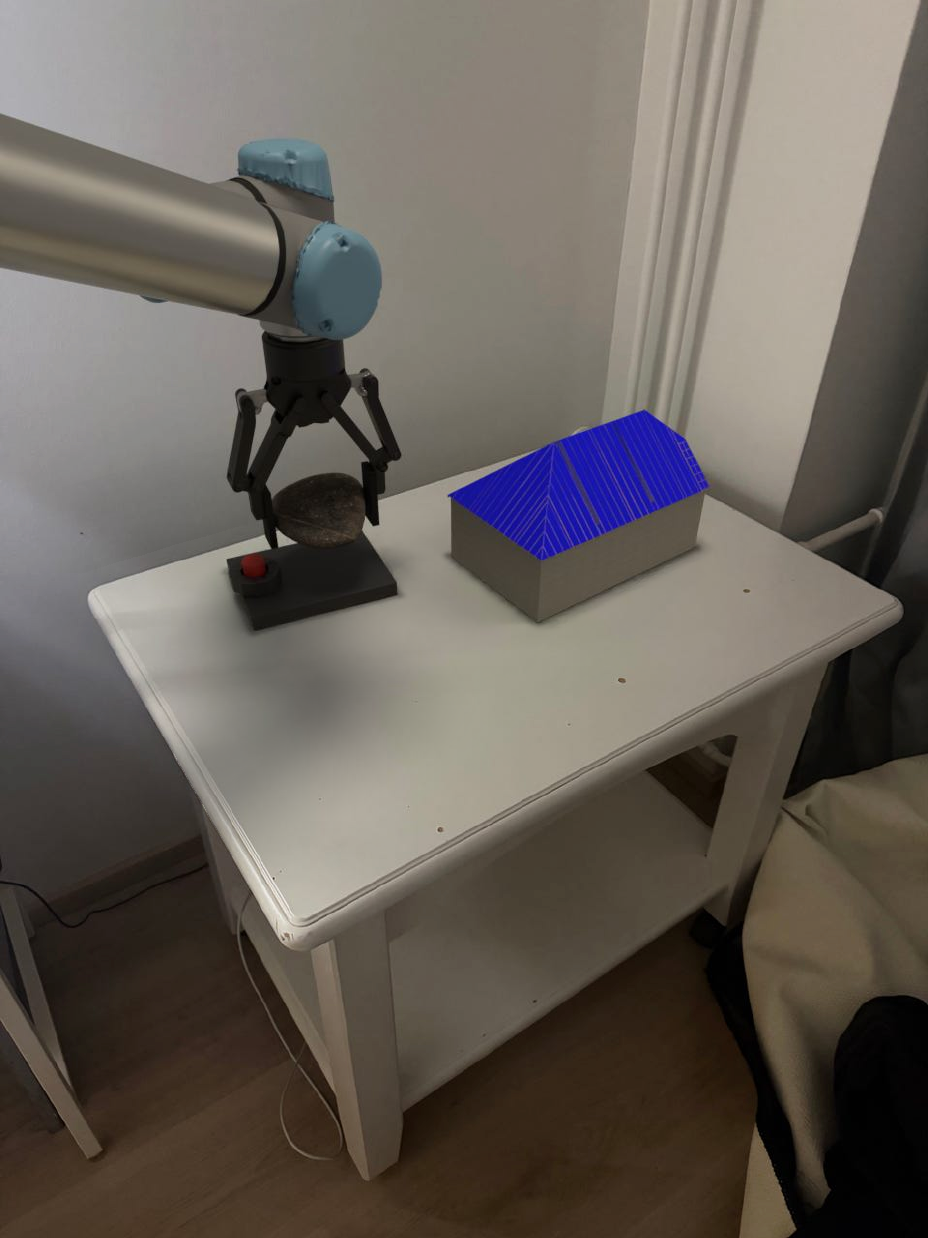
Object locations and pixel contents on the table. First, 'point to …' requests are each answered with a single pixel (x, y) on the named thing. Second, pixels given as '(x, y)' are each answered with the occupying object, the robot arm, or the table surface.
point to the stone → (321, 510)
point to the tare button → (253, 566)
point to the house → (580, 514)
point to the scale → (310, 581)
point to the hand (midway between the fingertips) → (322, 530)
